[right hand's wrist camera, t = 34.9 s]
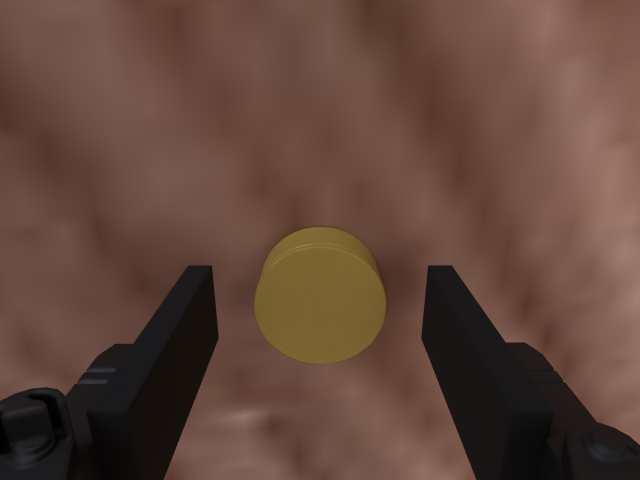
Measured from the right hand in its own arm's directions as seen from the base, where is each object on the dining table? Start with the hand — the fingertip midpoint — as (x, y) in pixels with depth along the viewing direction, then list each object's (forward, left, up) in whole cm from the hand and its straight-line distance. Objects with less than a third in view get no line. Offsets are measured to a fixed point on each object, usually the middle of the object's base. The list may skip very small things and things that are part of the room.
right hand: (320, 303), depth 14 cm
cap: (0, 0, 0) cm, 0 cm away
